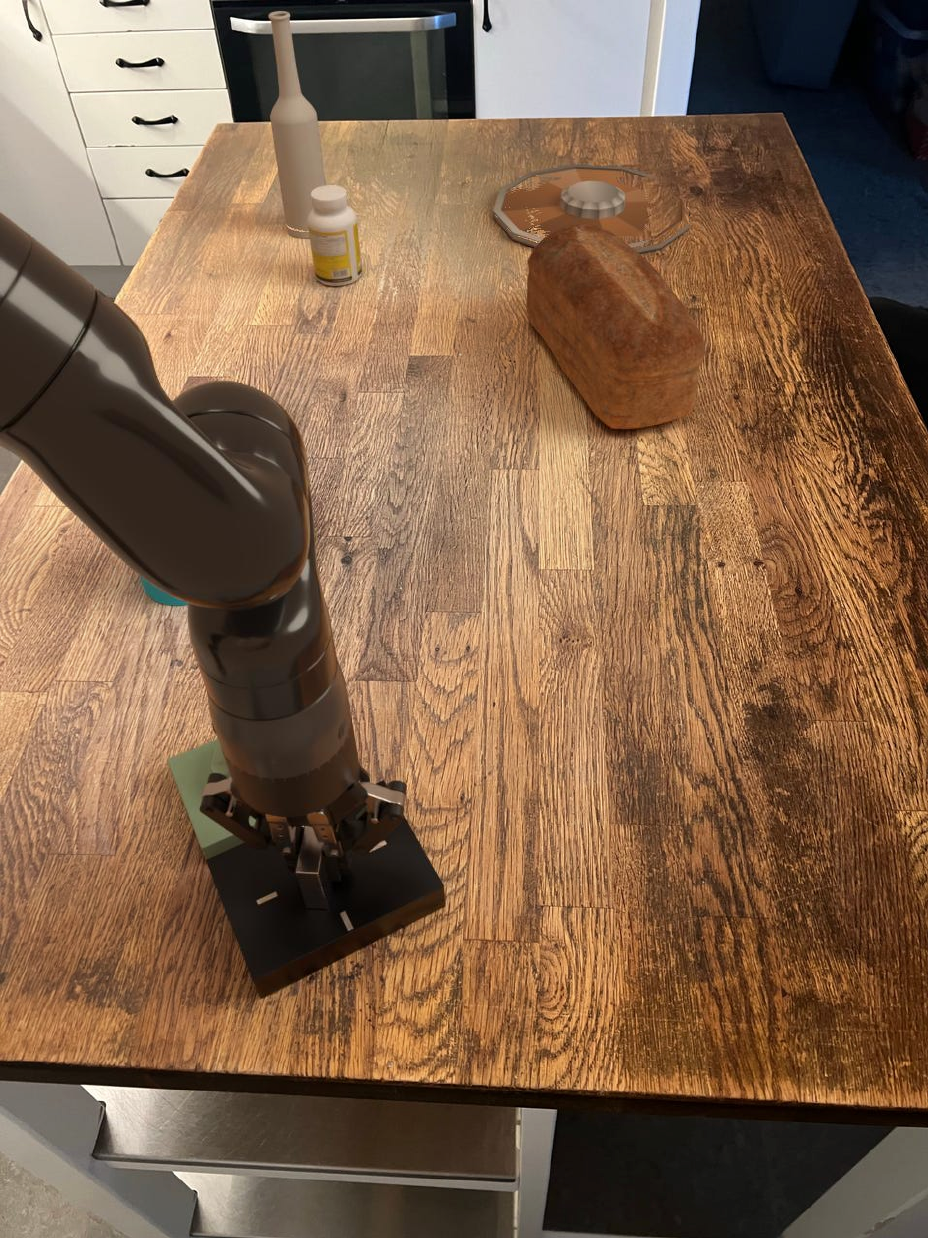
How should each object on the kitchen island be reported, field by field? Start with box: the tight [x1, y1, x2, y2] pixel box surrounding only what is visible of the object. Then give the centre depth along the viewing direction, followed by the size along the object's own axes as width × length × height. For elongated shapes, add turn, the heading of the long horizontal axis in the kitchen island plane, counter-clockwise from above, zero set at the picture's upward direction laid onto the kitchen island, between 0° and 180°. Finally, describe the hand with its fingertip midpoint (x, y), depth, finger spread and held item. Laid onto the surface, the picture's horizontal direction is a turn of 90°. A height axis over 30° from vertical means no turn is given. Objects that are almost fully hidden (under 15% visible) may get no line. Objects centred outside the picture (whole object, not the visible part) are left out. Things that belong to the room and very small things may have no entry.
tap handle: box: [296, 826, 332, 909], centre depth 65 cm, size 6×2×5 cm, turn 177°
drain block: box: [166, 738, 256, 861], centre depth 75 cm, size 12×9×4 cm
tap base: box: [205, 779, 447, 1000], centre depth 68 cm, size 14×10×3 cm
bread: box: [525, 224, 706, 430], centre depth 111 cm, size 12×31×14 cm, turn 17°
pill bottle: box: [307, 184, 363, 287], centre depth 129 cm, size 6×6×12 cm
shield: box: [492, 163, 691, 255], centre depth 144 cm, size 30×3×30 cm
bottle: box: [267, 10, 327, 239], centre depth 133 cm, size 7×7×28 cm
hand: (321, 868), depth 67 cm, fingers closed on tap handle
